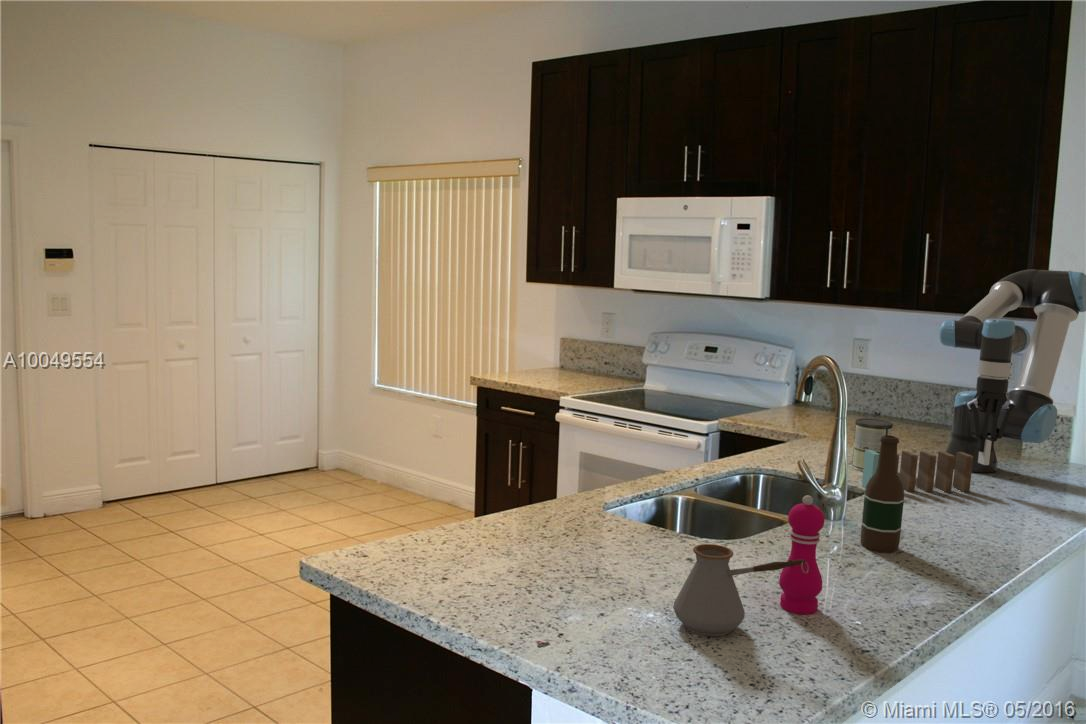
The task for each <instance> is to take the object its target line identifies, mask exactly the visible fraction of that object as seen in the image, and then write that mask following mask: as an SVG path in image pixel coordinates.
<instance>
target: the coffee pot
mask: <svg viewBox="0 0 1086 724" xmlns="http://www.w3.org/2000/svg"><path fill="white" fill-rule="evenodd" d="M692 551H693V553H694V554H695V560H696V561H695V563H694V565H693V566H692V568H691V570H690V572H689V574H688V575H687V578H686V579H685V581H684V583H683V586H682V587H681V589H680V591H679V593H678V594H677V596H676V598H675V600H674V603H673V605H672V606H673V607H672V608H673V610H674V613H675V615H676V616H675V617H676V618H677V619H678V620H679V621H680V622H681V624H683V625H684V627H685V628H686V629H687V630H688V631H690V632H693V633H696V634H698V635H702V636H707V637H720V636H721V637H722V636H725V635H726V636H727V635H728V634H730V633H731V632H732V631H733V630H735V629H736V628H737V627H739V626H740V625H741V624H742V622H743V621H744V619H745V615H746V612H745V608H744V606H743V602H742V600H741V597H740V594H739V591H738V589H737V586H736V582H735V580H734V577H733V576H737V575H743V574H748V573H759V572H760V573H761V572H768V571H769V572H770V571H779V570H782V569H783V568H785V567H788V566H789V567H790V568H792V567H793V566H794V565H801V568H802V571H803V572H804V570H803V566H802V565H803V564H805V563H806V564H807V562H806V561H805V560H796V561H792V560H788V559H787V560H788V562H787V561H772V562H768V563H764V564H758V565H755V566H751V567H743V568H742V567H741V568H734V569H730V568H731V567H730V565H729V563H730V560H731V558H732V557H733V556H734V551H733V550H732V549H731V548H728V547H726V546H723V545H720V544H714V543H712V544H710V543H703V544H697V545H695V546H694V547H693V548H692ZM807 568H808V569H807V572H804V573H808V571H809V566H808V564H807Z"/></svg>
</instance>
